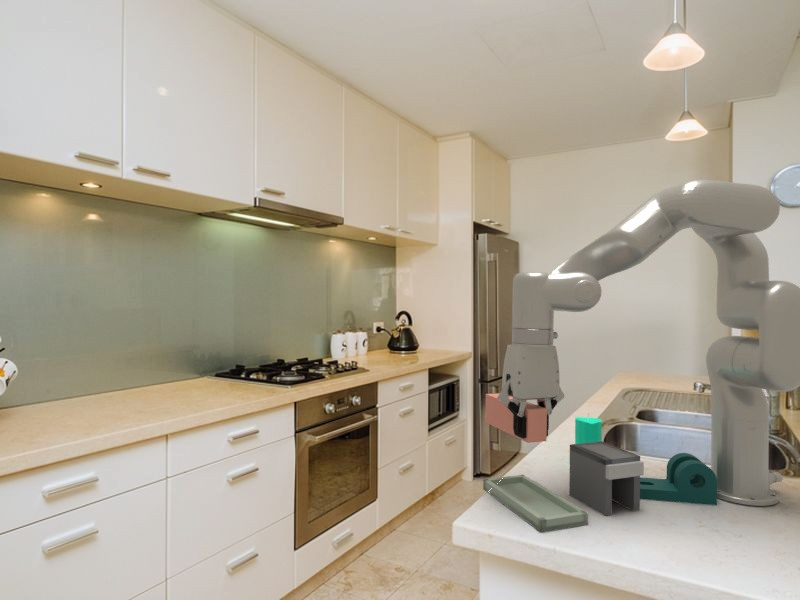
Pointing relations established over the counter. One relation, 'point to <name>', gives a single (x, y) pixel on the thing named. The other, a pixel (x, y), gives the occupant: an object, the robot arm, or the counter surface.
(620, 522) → the counter surface
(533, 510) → the tray
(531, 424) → the terracotta pink bar
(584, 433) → the candle
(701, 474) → the bracket
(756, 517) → the counter surface
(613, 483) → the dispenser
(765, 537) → the counter surface
